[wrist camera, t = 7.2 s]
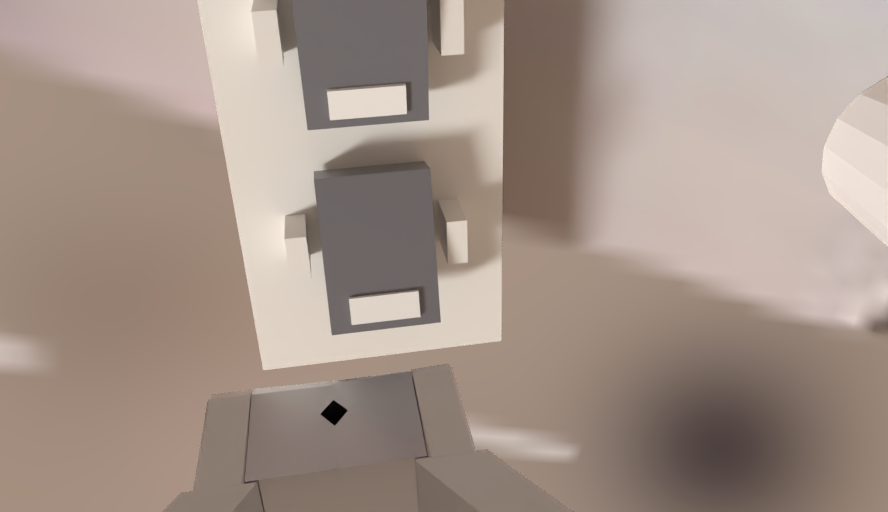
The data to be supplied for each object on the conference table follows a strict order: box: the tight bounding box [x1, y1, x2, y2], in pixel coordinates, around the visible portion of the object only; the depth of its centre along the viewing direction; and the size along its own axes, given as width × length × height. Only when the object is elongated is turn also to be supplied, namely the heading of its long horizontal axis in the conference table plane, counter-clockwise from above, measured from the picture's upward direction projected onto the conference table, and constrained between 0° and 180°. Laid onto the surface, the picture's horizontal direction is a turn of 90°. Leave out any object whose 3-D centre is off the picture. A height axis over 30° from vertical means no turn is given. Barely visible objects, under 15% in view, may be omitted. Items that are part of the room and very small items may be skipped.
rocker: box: [314, 161, 441, 335], centre depth 23 cm, size 3×5×1 cm
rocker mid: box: [291, 0, 429, 130], centre depth 20 cm, size 3×5×1 cm
